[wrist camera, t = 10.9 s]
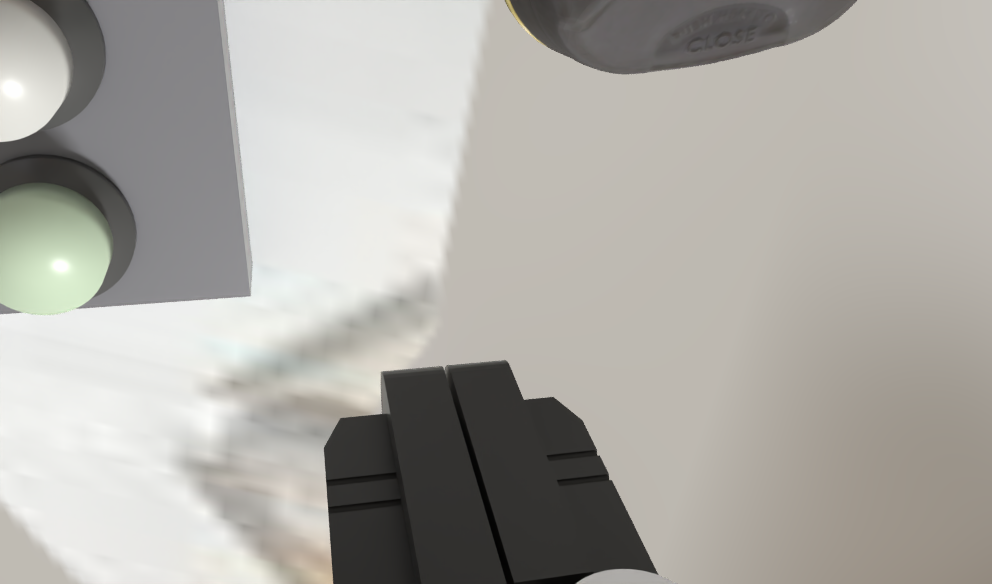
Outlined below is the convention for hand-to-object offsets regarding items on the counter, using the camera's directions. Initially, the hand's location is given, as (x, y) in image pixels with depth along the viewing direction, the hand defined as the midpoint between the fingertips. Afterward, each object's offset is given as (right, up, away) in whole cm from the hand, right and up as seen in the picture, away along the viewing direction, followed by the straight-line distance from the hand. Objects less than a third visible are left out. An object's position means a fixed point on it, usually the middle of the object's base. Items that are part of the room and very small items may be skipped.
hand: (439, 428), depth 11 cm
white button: (-16, +9, +19) cm, 26 cm away
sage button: (-16, +4, +23) cm, 28 cm away
